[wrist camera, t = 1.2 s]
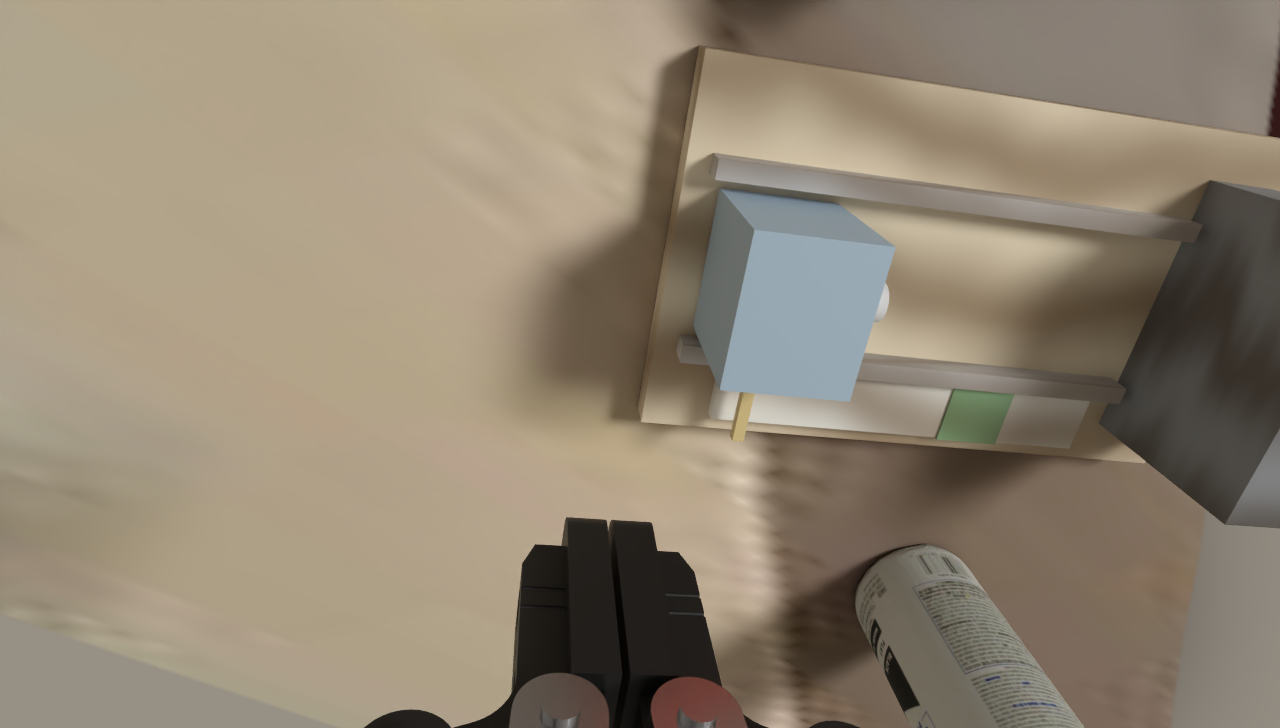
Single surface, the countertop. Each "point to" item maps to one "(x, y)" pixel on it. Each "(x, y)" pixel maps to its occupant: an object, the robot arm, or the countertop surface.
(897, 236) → the base
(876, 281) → the gauge slider
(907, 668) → the spray can
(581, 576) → the robot arm
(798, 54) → the countertop surface
